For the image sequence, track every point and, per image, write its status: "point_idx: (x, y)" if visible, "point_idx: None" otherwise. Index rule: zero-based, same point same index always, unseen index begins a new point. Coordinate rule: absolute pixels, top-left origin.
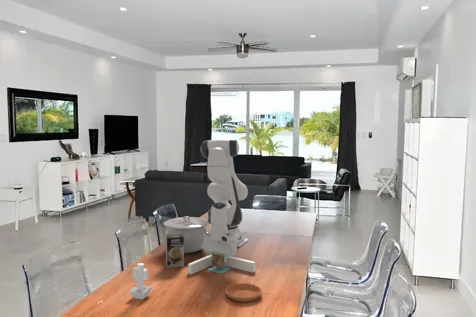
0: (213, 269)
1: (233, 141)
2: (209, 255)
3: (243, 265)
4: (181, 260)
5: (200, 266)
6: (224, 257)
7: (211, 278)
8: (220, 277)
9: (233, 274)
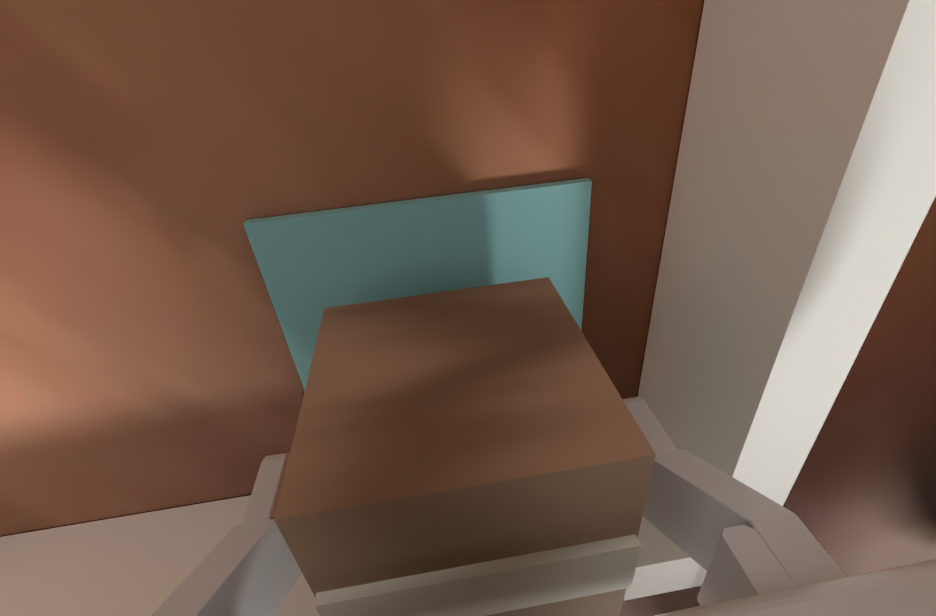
0: (492, 255)
1: None
2: (787, 473)
3: (129, 580)
4: None
5: (746, 78)
6: (215, 585)
7: None
8: (28, 41)
9: (70, 339)
